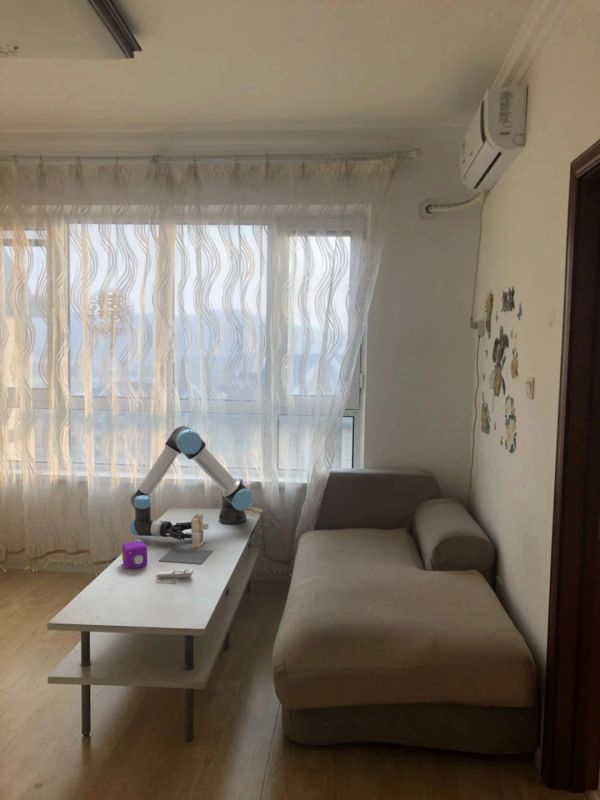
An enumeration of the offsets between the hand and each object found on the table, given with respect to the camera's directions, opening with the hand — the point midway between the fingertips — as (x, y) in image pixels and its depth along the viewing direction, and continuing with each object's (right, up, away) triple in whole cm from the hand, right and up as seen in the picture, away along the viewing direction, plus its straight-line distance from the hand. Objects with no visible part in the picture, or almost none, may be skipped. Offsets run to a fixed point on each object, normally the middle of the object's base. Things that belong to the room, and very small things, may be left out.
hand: (203, 531), depth 281 cm
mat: (-6, -9, -13) cm, 17 cm away
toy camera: (-26, -10, -24) cm, 37 cm away
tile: (-3, -7, +1) cm, 8 cm away
